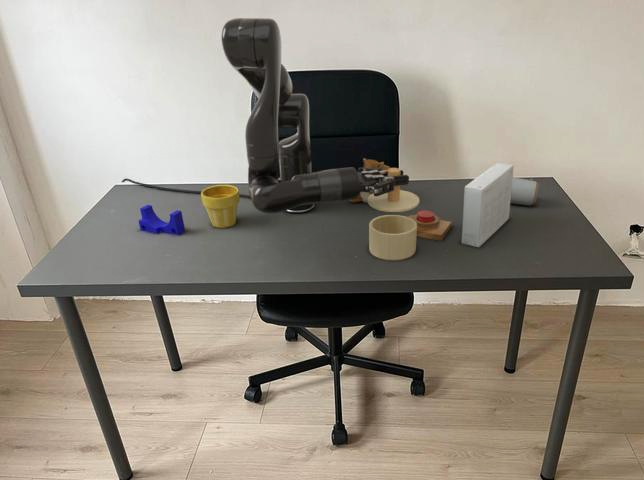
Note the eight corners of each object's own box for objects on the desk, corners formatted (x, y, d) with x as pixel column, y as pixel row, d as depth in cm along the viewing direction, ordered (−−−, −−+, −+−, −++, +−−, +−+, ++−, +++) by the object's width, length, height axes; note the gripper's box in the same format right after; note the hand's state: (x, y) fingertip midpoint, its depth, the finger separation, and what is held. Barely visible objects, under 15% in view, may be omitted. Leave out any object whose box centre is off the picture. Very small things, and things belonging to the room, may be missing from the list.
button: (415, 221, 146) (415, 215, 145) (420, 215, 150) (420, 209, 149) (430, 224, 145) (431, 218, 144) (435, 218, 148) (436, 212, 147)
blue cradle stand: (140, 230, 153) (136, 210, 150) (151, 224, 156) (147, 204, 153) (174, 237, 148) (170, 217, 145) (185, 230, 152) (181, 211, 149)
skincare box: (490, 215, 156) (497, 161, 148) (509, 219, 153) (516, 165, 146) (458, 243, 141) (464, 185, 134) (478, 248, 139) (485, 189, 131)
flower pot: (249, 218, 158) (245, 186, 153) (231, 232, 150) (226, 199, 145) (218, 213, 161) (213, 182, 156) (198, 228, 153) (193, 195, 148)
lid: (359, 209, 131) (358, 174, 126) (379, 191, 140) (380, 158, 136) (408, 218, 126) (410, 182, 121) (426, 198, 136) (428, 165, 131)
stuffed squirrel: (347, 203, 166) (346, 161, 159) (370, 188, 176) (370, 149, 170) (376, 210, 161) (376, 167, 155) (397, 194, 172) (398, 153, 165)
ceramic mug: (535, 209, 159) (539, 184, 155) (506, 206, 161) (509, 182, 157) (536, 197, 167) (540, 173, 164) (508, 194, 170) (512, 170, 166)
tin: (361, 254, 137) (361, 229, 134) (380, 235, 146) (380, 211, 143) (406, 264, 132) (406, 238, 129) (421, 243, 142) (423, 219, 138)
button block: (398, 233, 147) (398, 221, 146) (410, 220, 154) (410, 208, 153) (441, 240, 143) (442, 228, 141) (451, 227, 150) (452, 215, 148)
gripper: (344, 180, 119) (417, 171, 123) (328, 160, 130) (395, 152, 134) (344, 211, 123) (416, 202, 127) (329, 189, 134) (394, 181, 138)
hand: (405, 176), depth 131 cm, fingers closed on lid, 3 cm apart
